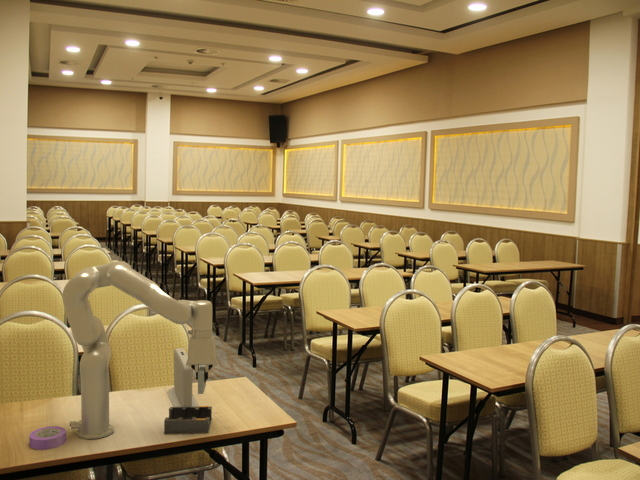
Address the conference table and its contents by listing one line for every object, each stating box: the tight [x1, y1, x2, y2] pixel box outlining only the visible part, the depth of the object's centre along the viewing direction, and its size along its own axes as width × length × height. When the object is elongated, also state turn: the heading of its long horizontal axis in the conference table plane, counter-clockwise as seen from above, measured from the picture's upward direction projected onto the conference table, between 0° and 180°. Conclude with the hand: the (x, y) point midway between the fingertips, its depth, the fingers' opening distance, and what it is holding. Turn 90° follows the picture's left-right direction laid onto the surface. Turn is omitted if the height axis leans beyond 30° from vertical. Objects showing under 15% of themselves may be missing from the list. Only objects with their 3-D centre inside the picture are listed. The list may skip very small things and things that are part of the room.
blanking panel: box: [197, 365, 207, 395], centre depth 227 cm, size 2×11×8 cm, turn 6°
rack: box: [163, 405, 213, 435], centre depth 228 cm, size 16×14×5 cm
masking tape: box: [28, 425, 67, 451], centre depth 211 cm, size 12×12×4 cm
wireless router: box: [166, 347, 200, 407], centre depth 256 cm, size 31×10×20 cm, turn 22°
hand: (202, 381), depth 227 cm, fingers closed on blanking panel, 1 cm apart
